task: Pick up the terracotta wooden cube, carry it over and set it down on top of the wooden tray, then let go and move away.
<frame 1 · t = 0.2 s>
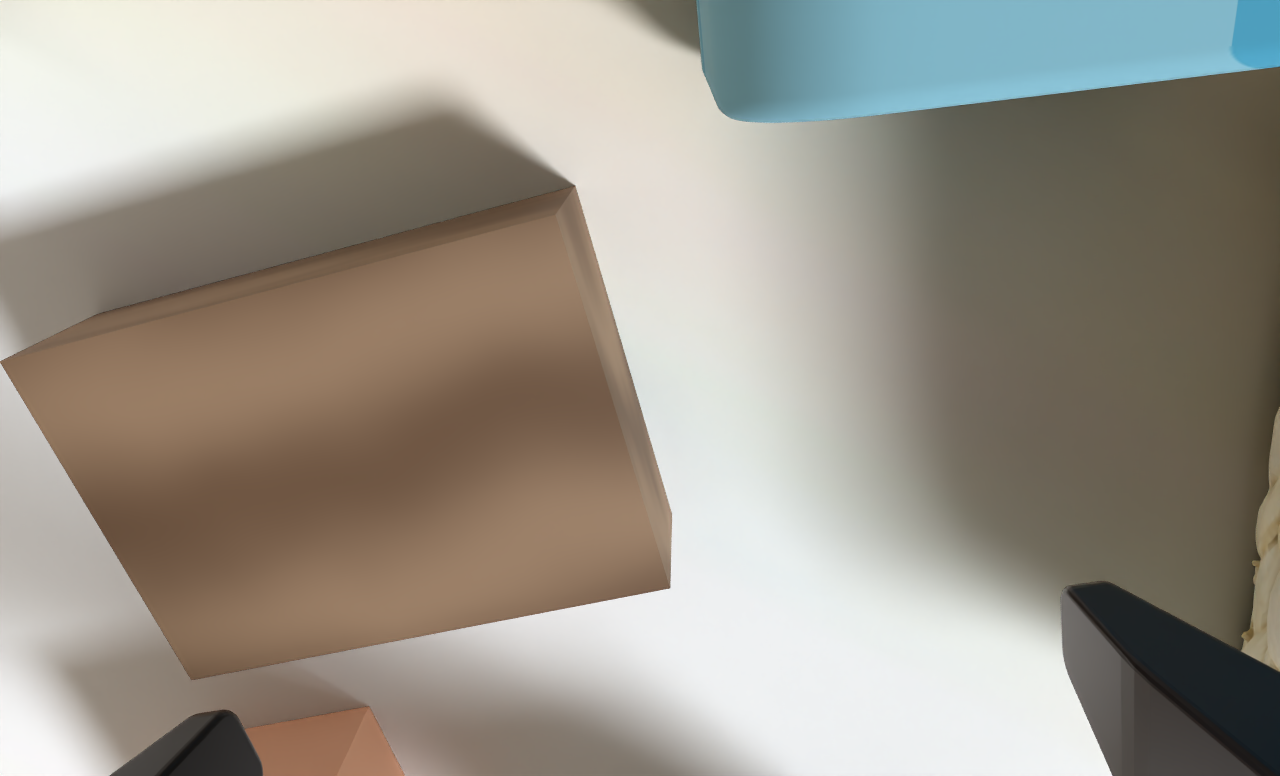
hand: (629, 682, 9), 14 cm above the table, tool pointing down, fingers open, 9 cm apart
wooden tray: (398, 411, 24), on the table
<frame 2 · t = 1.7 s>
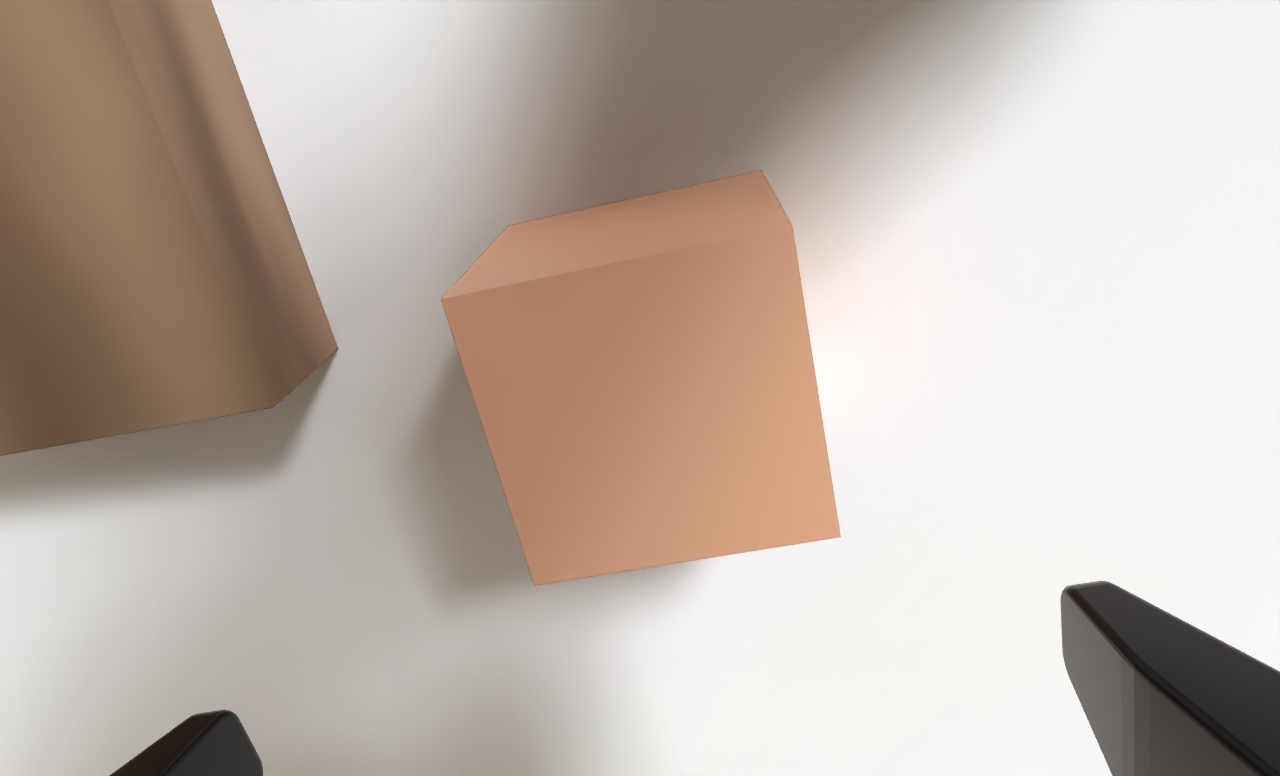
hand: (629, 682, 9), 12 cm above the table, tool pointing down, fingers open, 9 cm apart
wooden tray: (43, 103, 19), on the table
terracotta cube: (659, 318, 20), on the table
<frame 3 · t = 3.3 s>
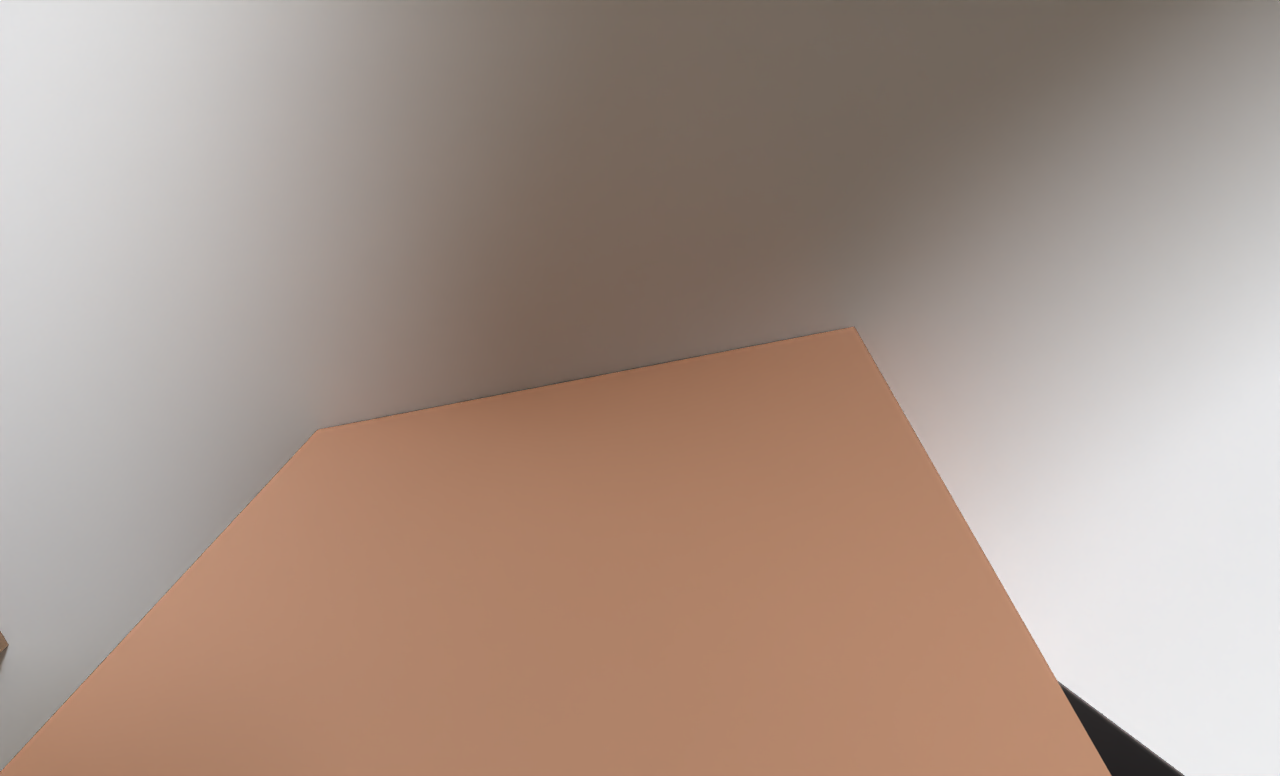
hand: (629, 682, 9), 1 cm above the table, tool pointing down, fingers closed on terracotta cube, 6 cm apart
terracotta cube: (635, 604, 10), on the table, touching gripper
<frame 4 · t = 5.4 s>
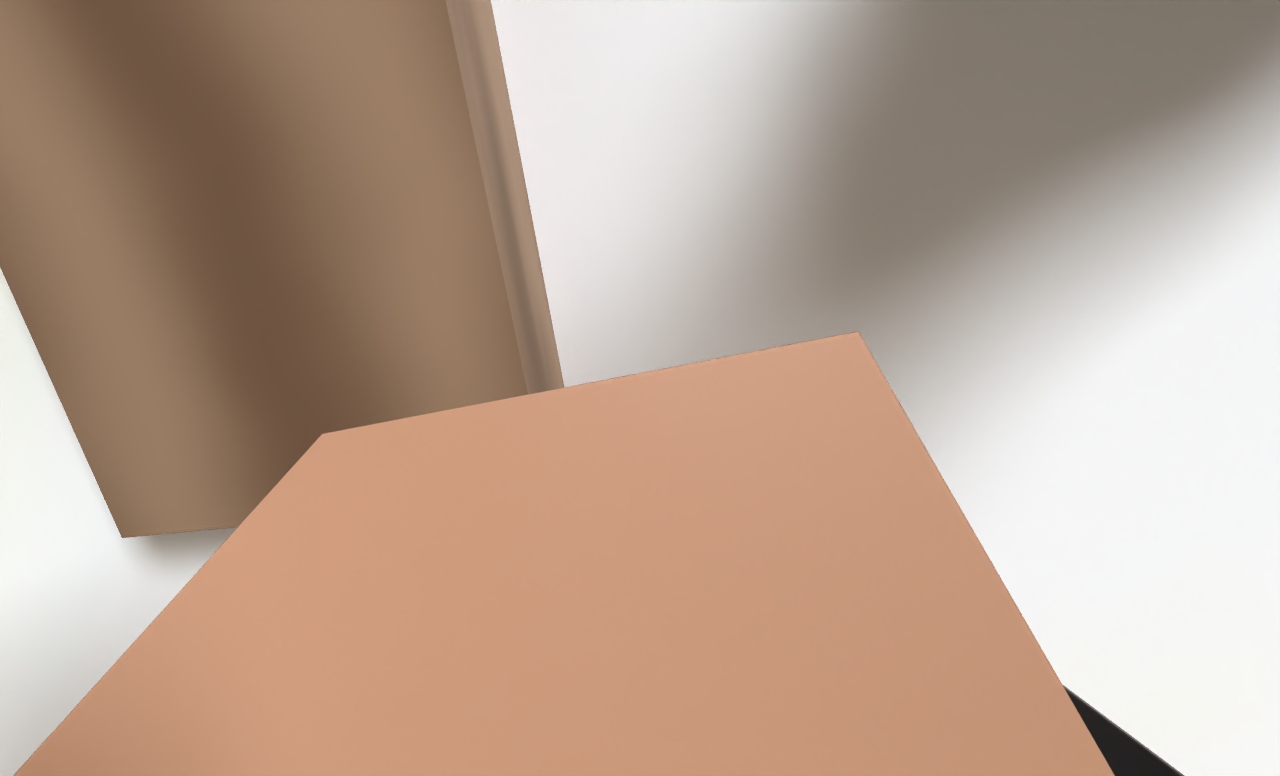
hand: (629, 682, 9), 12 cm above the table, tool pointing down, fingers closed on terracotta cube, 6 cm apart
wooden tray: (312, 171, 20), on the table
terracotta cube: (639, 607, 10), point 11 cm above the table, touching gripper
when the fingers open (7 cm above the table, at t = 7.3 s): terracotta cube drops 2 cm, resting on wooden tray.
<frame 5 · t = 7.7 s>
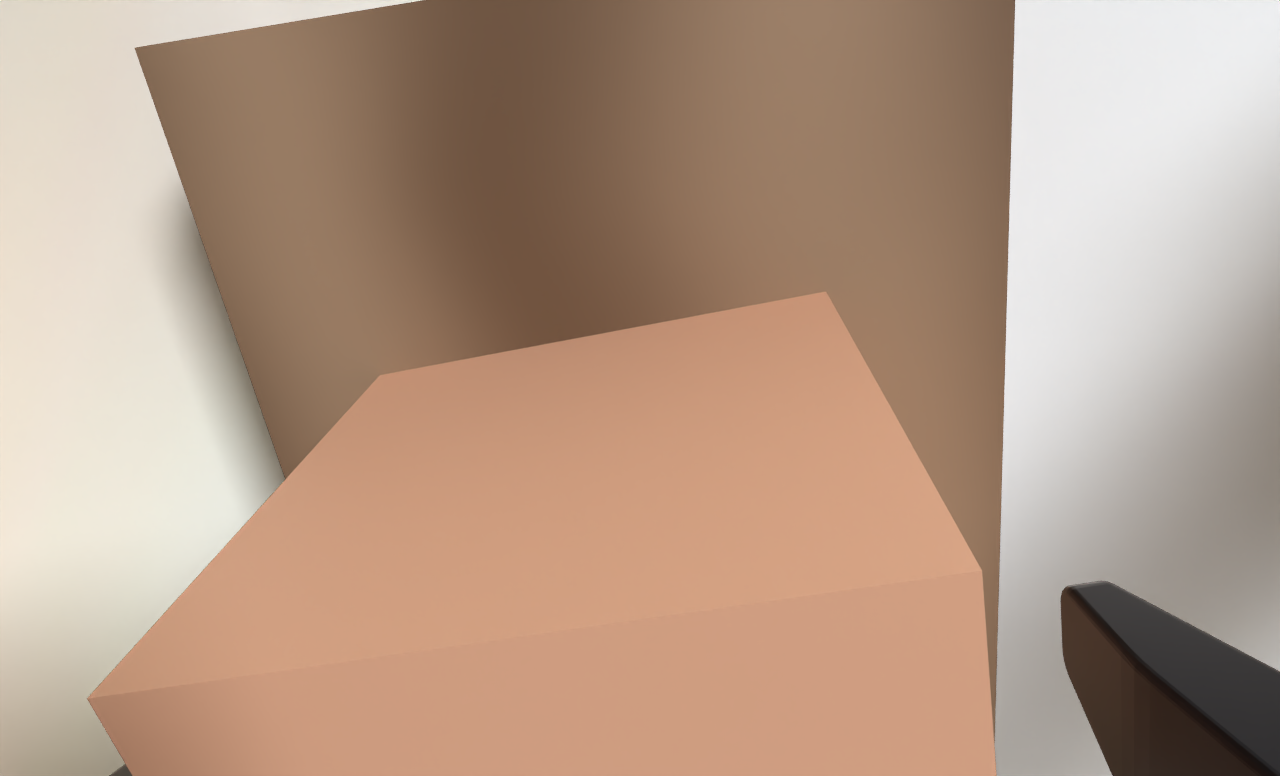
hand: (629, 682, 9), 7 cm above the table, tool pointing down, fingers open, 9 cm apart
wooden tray: (651, 402, 16), on the table, touching terracotta cube
terracotta cube: (642, 528, 12), point 3 cm above the table, touching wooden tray
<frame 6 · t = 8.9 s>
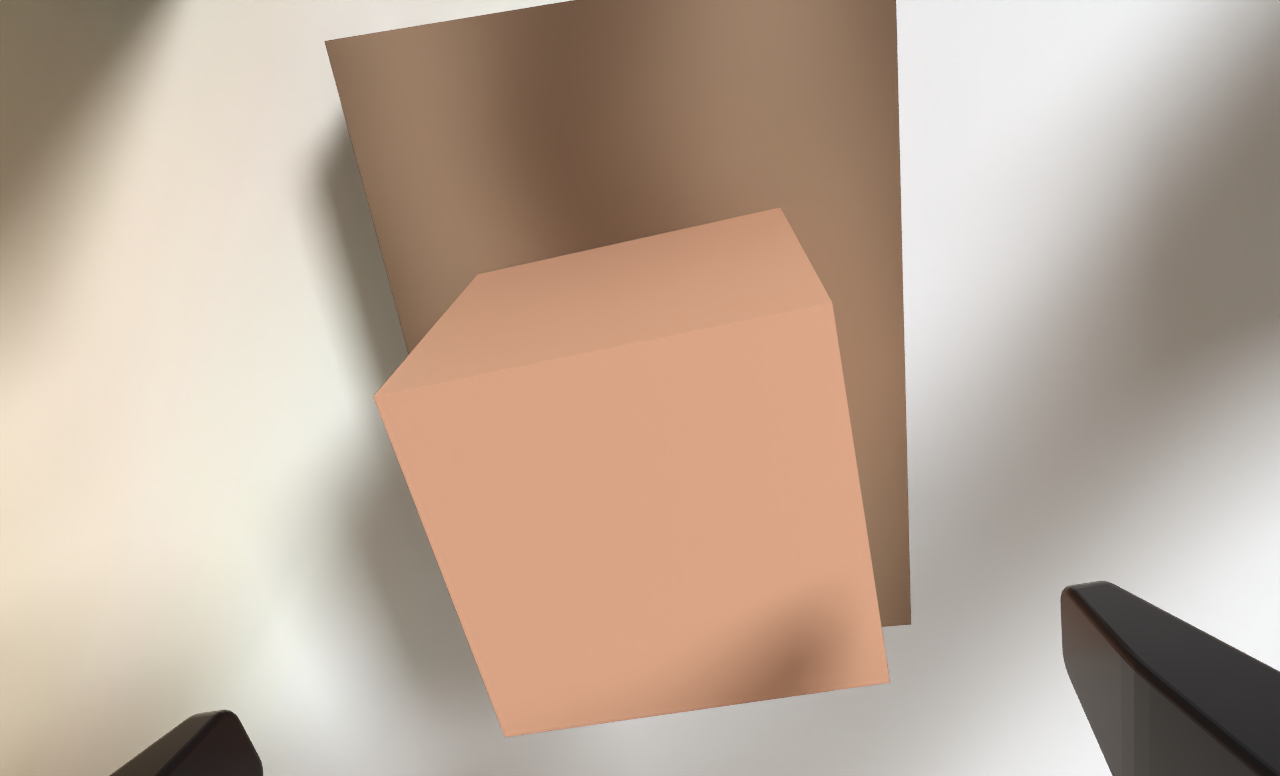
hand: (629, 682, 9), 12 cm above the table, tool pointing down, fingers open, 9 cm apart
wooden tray: (660, 309, 21), on the table
terracotta cube: (659, 382, 17), point 4 cm above the table
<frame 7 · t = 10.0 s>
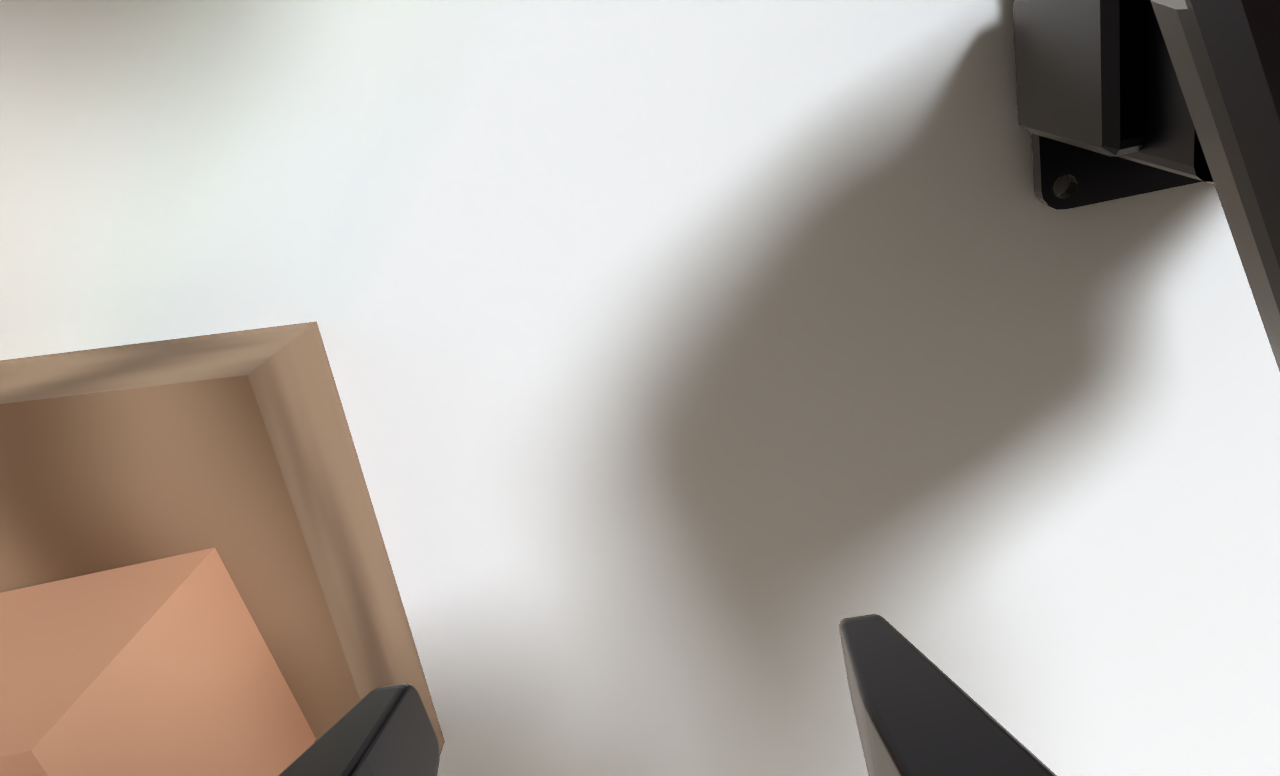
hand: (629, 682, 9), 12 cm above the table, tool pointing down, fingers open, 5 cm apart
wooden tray: (229, 561, 25), on the table, touching terracotta cube
terracotta cube: (159, 668, 21), point 4 cm above the table, touching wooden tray
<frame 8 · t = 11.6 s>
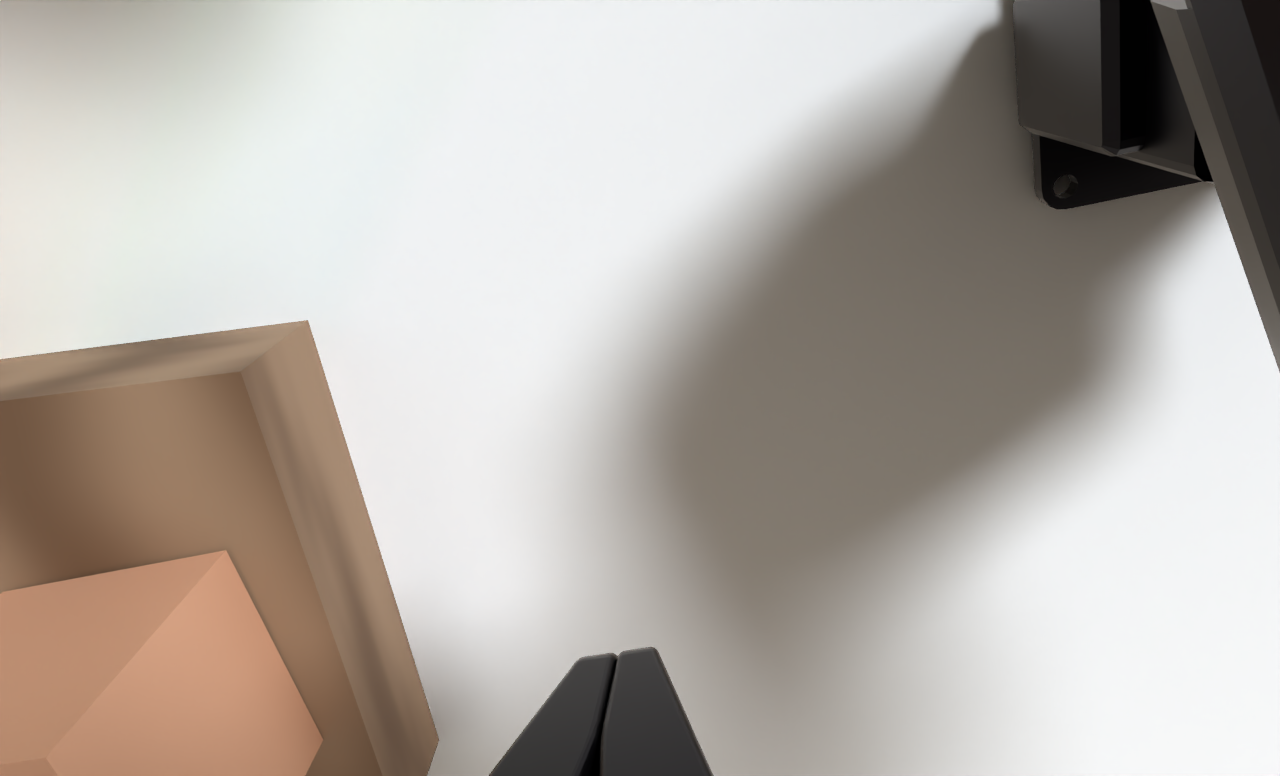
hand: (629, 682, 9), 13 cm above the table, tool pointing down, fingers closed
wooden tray: (223, 560, 25), on the table, touching terracotta cube
terracotta cube: (168, 668, 21), point 4 cm above the table, touching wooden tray
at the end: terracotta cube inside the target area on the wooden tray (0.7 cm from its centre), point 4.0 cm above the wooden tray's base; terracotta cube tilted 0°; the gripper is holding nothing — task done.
